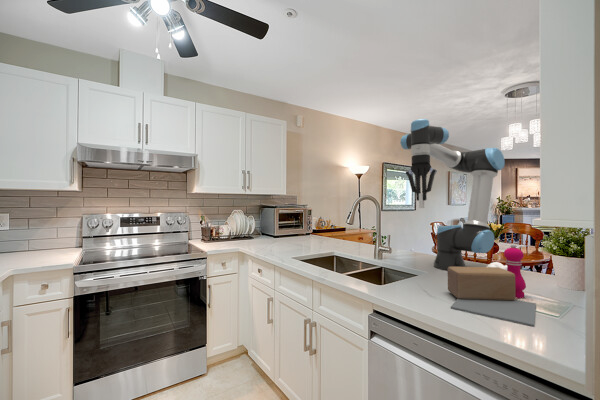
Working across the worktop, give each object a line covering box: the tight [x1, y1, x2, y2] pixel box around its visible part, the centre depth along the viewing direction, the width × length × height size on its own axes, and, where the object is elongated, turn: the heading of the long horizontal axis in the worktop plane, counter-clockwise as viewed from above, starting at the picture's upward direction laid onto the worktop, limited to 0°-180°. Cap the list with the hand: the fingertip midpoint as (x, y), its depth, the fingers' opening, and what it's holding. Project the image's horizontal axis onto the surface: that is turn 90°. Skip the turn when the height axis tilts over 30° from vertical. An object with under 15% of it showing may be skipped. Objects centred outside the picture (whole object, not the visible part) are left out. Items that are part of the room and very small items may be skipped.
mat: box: [450, 298, 537, 328], centre depth 97 cm, size 22×22×1 cm
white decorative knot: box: [486, 261, 507, 270], centre depth 123 cm, size 11×12×9 cm
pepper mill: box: [503, 243, 527, 299], centre depth 108 cm, size 7×7×20 cm
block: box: [447, 266, 517, 300], centre depth 107 cm, size 10×10×20 cm
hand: (421, 208), depth 125 cm, fingers closed
